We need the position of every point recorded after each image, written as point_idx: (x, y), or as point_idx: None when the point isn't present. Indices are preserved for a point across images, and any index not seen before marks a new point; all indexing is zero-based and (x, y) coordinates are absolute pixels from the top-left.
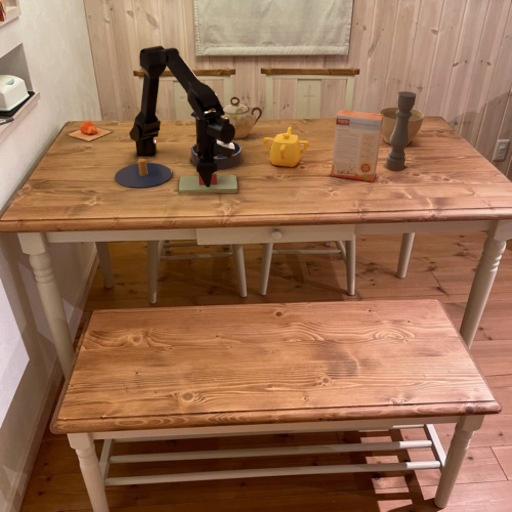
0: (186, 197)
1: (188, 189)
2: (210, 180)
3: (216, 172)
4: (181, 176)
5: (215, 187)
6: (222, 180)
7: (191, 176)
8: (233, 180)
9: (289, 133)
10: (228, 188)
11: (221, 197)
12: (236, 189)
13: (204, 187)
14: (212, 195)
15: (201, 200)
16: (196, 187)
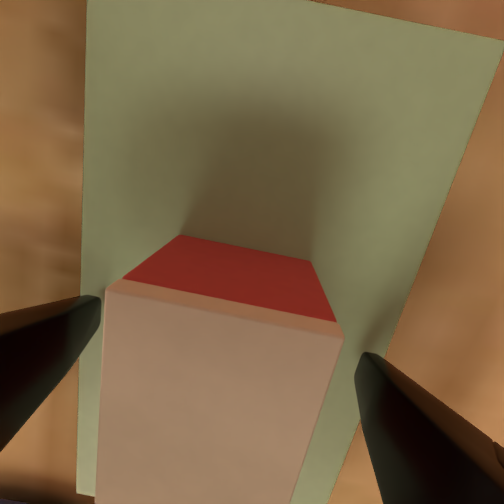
0: (364, 473)
1: (323, 489)
2: (459, 424)
3: (323, 337)
4: (80, 486)
5: (367, 289)
6: (223, 180)
7: (88, 428)
8: (255, 36)
9: None
10: (450, 158)
11: (481, 247)
12: (494, 56)
13: (331, 380)
14: (409, 310)
15: (455, 401)
16: None
